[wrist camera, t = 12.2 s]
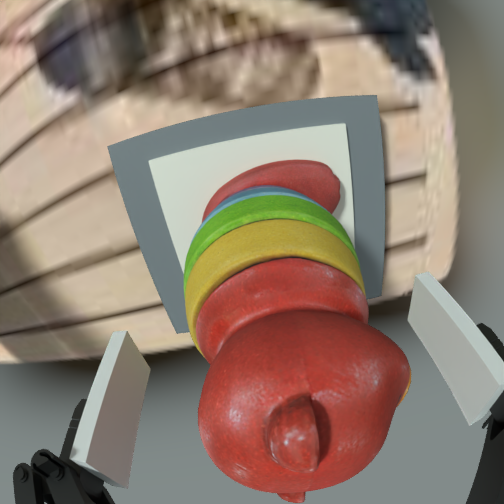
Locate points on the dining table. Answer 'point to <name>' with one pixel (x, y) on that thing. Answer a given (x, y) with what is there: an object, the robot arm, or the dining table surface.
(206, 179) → the slate plinth
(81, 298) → the dining table surface
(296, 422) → the stacking bear
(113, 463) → the robot arm
